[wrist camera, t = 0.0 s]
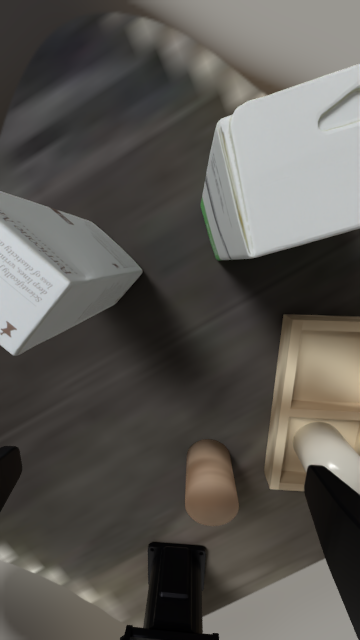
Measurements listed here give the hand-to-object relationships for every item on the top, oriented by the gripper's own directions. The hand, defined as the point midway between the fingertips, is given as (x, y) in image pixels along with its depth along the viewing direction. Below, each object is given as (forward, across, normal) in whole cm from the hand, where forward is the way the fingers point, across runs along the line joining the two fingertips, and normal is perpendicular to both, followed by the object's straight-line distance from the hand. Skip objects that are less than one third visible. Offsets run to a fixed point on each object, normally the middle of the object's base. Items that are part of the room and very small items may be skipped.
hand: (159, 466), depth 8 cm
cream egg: (+14, -13, +10) cm, 22 cm away
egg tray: (+15, -13, +6) cm, 21 cm away
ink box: (+15, -6, -10) cm, 19 cm away
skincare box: (+15, +7, -6) cm, 17 cm away
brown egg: (+15, -3, +13) cm, 20 cm away
